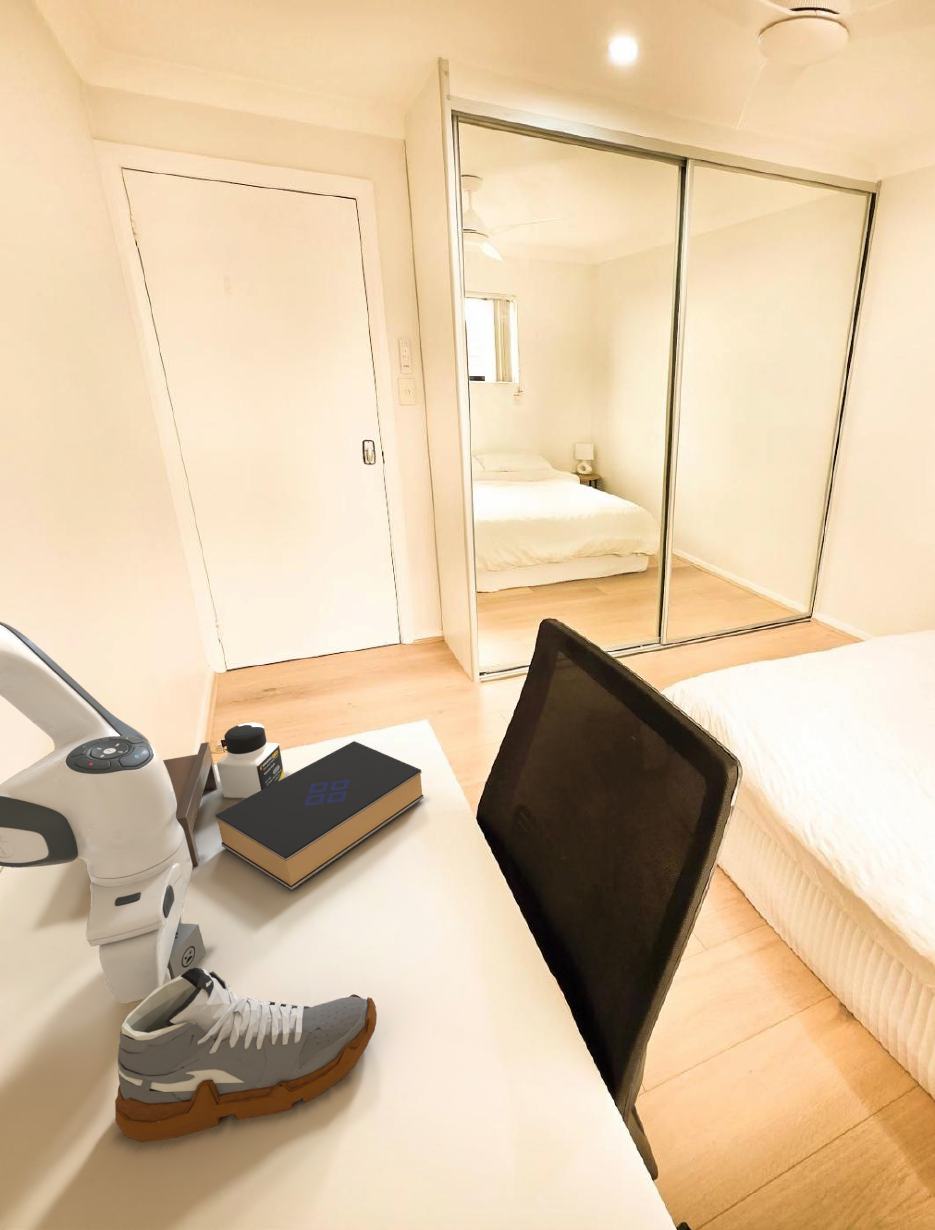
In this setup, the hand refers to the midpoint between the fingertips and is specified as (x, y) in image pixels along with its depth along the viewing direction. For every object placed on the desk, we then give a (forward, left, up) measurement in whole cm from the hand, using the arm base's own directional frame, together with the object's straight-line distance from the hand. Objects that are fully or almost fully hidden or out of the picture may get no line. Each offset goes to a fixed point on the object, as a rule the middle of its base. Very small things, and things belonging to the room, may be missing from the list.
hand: (169, 960), depth 74 cm
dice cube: (0, 0, -2) cm, 2 cm away
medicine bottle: (+6, +38, -2) cm, 39 cm away
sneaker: (+11, -18, -2) cm, 21 cm away
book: (+18, +22, -2) cm, 29 cm away
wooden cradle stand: (-6, +30, -2) cm, 31 cm away
